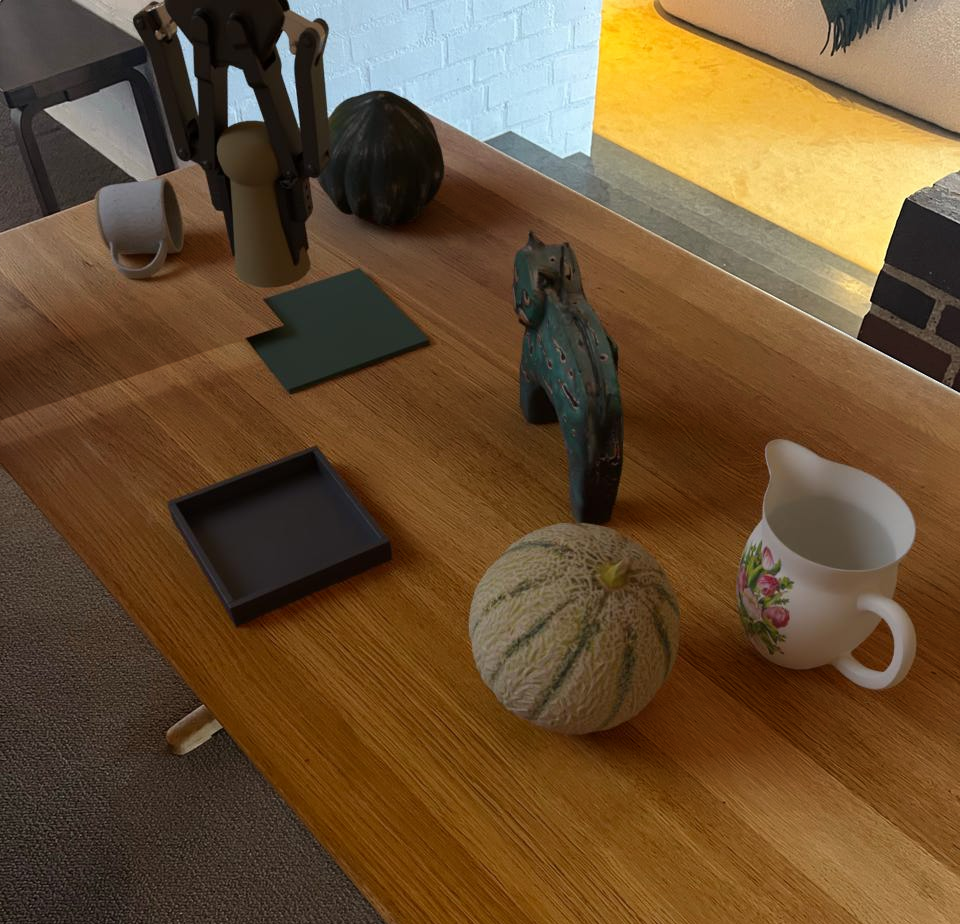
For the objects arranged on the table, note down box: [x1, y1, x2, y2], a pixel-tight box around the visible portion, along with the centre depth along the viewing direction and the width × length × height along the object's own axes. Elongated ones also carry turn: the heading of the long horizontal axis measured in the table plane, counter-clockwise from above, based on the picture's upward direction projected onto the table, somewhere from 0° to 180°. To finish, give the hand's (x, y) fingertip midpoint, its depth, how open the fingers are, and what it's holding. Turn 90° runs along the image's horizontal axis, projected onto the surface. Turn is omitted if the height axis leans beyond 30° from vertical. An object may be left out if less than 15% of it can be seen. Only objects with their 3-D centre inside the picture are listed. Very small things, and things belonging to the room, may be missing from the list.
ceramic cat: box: [511, 229, 625, 525], centre depth 84 cm, size 20×6×20 cm, turn 14°
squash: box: [316, 89, 445, 228], centre depth 115 cm, size 14×15×15 cm
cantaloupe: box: [468, 522, 681, 736], centre depth 69 cm, size 15×15×15 cm
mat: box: [245, 267, 431, 395], centre depth 104 cm, size 16×16×1 cm
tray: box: [166, 444, 393, 628], centre depth 84 cm, size 14×14×2 cm
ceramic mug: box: [93, 177, 185, 280], centre depth 111 cm, size 11×8×8 cm
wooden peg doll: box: [217, 119, 311, 289], centre depth 76 cm, size 6×6×11 cm
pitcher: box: [735, 438, 917, 691], centre depth 72 cm, size 11×18×14 cm, turn 24°
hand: (270, 251), depth 80 cm, fingers closed on wooden peg doll, 4 cm apart
